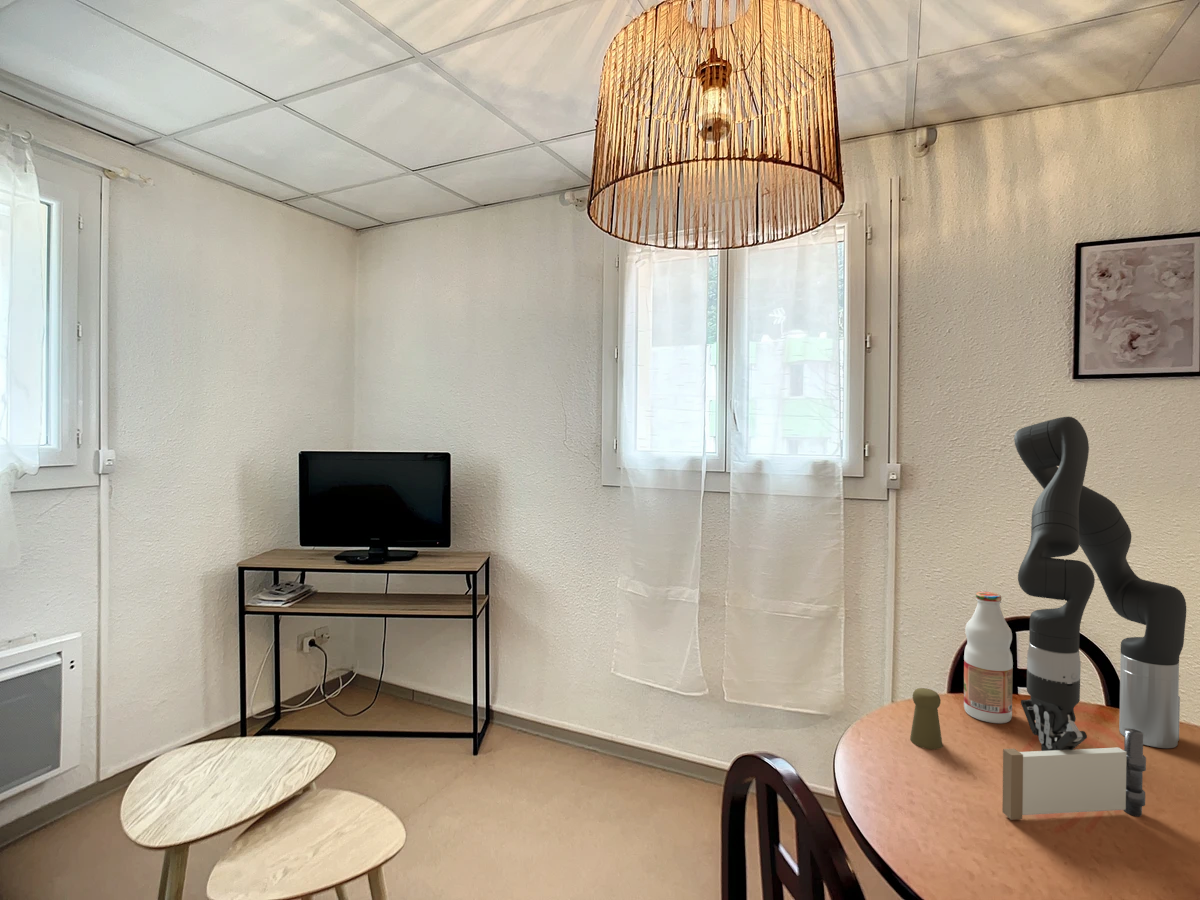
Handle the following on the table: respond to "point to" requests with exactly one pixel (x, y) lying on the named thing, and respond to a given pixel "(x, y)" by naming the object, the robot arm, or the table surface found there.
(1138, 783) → the gate post
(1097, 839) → the table surface
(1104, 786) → the gate
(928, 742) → the olive green pawn
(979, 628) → the fruit juice
